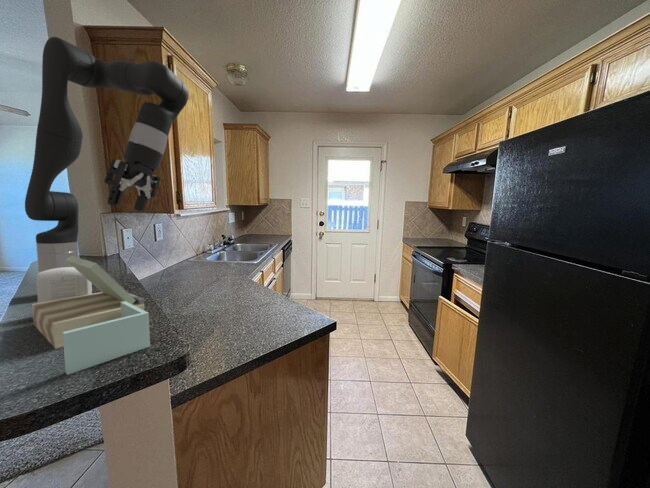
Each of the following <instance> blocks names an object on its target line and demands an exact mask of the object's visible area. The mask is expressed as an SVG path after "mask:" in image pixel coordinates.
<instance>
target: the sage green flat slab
mask: <svg viewBox="0 0 650 488" xmlns="http://www.w3.org/2000/svg"><path fill="white" fill-rule="evenodd" d="M66 261H67V262H68V263H69V264H71V265H72V266H73V267H74V268H75V269H76V270H77V271H79V272H80V273H81V274H82V275H83V276H84V277H85V278H87V279H88V280H89V281H90V282H91V283H92V286H94V287H96V289H98V290H99V291H100V292H103V293H105V294H107V295H109V296H111V297H113V298H115V299H118V300H120V301H122V302H124V301H126V302H128V303H130V304H133V303H134V302H135V301H136V300H135V299H134V298H133V297H132V296H131V295H130V294H129V293H130V292H128V291H127V290H126V289H124V287H123V286H121V285H120V283H118V282H117V281H116V280H115V279H114V278H113V277H112V276H111V275H110V274H109V273H108V272H106V271H105V269H103V268H102V267H101V266H100V265H99V264H98V263H97V262H93V261H91V260H87V259H84V258H81V257H79V258H77V257H74V256H71V257H69V258H67V259H66Z"/></svg>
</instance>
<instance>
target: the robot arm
mask: <svg viewBox="0 0 650 488" xmlns="http://www.w3.org/2000/svg"><path fill="white" fill-rule="evenodd" d="M41 61H42V64H41V65H42V66H41V67H42V72H41V73H42V74H41V78H42V79H41V82H42V84H41V100H40V109H39V116H38V122H37V128H36V134H35V148H34V156H33V158H34V159H33V165H32V169H31V173H30V174H31V175H30V178H29V183H28V185H27V190H26V194H25V200H24V211H25V214H26V216H27V217H28V218H29V219H30V220H33V221H38V222H43V221H44V222H57V225H56V226H55V227H53V228H51V229H48V230H46V231H42V232H39V233H37V234H36V235H35V243H36V245H35V246H36V254H37V268H38V273H40V272H43V271H46V270H50V269H55V268H62V267H73V266H72V265H71V264H69V263H68V262H67V261H66V259H67V258H69V257H71V256H74V257H77V258H80V257H79V256H80V255H79V246H78V245H79V243H78V237H79V203H78V200H77V198H76V196H75V195H74V194H73V193H70V192H67V191H66V192H64V191H53V190H51V187H52V185H53V182H54V181H55V180H56V178H57V177H58V176H59V175H60V174H61V173H62V172H64V170H66V169H67V168H68V167H69V166H71V165H72V164H74V162H75V161H77V159H78V158H79V157H80V154H81V149H82V143H83V139H84V138H83V137H84V136H83V135H84V133H83V131H82V128H81V124H80V123H79V121H78V119H77V117H76V115H75V113H74V111H73V109H72V107H71V105H70V102H69V97H68V83H69V82H71V83H74V84H77V85H79V86H82V87H85V88H90V89H93V88H94V89H95V88H97V89H103V88H104V89H105V88H107V89H108V88H109V89H116V90H121V91H123V92H127V93H132V94H137V95H140V96H152V95H156V96H157V97H158V98H160V99H161V101H160V103H159V104H156V103H153V102H150V101H146V102H144V103H141V104H142V105H141V106H140V109H139V110H138V111H139V112H138V116H137V118H136V120H135V124H134V125H133V127H132V129H131V132H130V135H129V137H128V141H127V143H126V147H125V150H124V153H123V156H122V157H123V159H124V160H125V161H124V160H120V159H117V158H113V159H112V160H111V163H110V165H109V167H108V170H107V173H106V176H105V178H104V183H105V184H106V185H109V187H110V190H109V191H110V192H109V193H108V196H107V204H108V205H110V206H113V207H119V206H120V204H121V200H122V197H123V195H124V190H126V188H129V187H131V186H135V188H136V189H137V192H138V196H137V198H136V201H135V204H134V205H133V206H134V207H133V209H134V210H135V211H138V212H144V211H145V209H146V205H147V204H148V200H149V199H151V198H153V199H154V198H156V196H157V192H158V188H159V186H160V181H161V177H160V176H157V175H155V174H153V173H154V171H158V170H159V168H160V166H161V163H162V159H163V156H164V153H165V150H166V147H167V144H168V143H167V142H168V137H169V134H170V131H171V128H172V126H173V125H172V124H173V123H174V122H175V120H176V119H177V117H178V116H179V115H180V113H181V112H182V111H183V110H184V108H185V106H186V105H187V103H188V100H189V95H190V94H189V89H188V86H187V85H186V84H185V82H184V81H183V80H181V78H179V76H177V75H176V74H175V73H174V72H173V71H172V70H171V69H170V68H169V67H168V66H166V65H165V64H163V63H162V62H159V61H155V60H151V61H145V62H141V63H136V62H131V61H126V60H113V61H111V62H110V63H109V62H106V61H104V60H101V59H100V58H97V57H95V55H92V54H91V53H90V52H87V51H86V50H84V49H82V48H80V47H78V46H76V45H75V44H72V43H71V42H69V41H67V40H65V39H63V38H59V37H57V36H52V37H49V38H48V39H46V42H45V44H44V46H43V51H42V60H41ZM113 178H114V179H113Z"/></svg>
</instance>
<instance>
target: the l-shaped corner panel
mask: <svg viewBox="0 0 650 488" xmlns="http://www.w3.org/2000/svg"><path fill="white" fill-rule="evenodd" d="M150 336H151V335H150V313H149V312H148V311H146V310H145V311H144V310H142V309H140V308H138V307H136V306H134V305H132V304H130V303H128V302H126V301H124V302H121V318H118V319H114V320H110V321H106V322H102V323H98V324H94V325H90V326H86V327H81V328H77V329H73V330H69V331H65V332H63V344H64V347H63V353H64V355H63V356H64V368H65V374H66V376H68V375H69V376H70V375H72V374H74V373H77V372H80V371H83V370H85V369H88V368H89V369H90V368H92V367H95V366H97V365H100V364H103V363H106V362H109V361H112V360H114V359H117V358H121V357H124V356H126V355H129V354H133V353H136V352H138V351H140V350H144V349H146V348H151V337H150Z"/></svg>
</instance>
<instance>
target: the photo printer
mask: <svg viewBox="0 0 650 488" xmlns="http://www.w3.org/2000/svg"><path fill="white" fill-rule="evenodd" d="M92 286H93V284H92V283H91V282H90V281H89V280H88V279H87V278H85V277H84V276H83V275H82V274H81V273H80V272H79V271H77V270H76V269H75V268H74V267H62V268H55V269H50V270H46V271H43V272H40V273H39V272H38V273H37V277H36V291H37V292H36V293H37V303H41V302H47V301H53V300H59V299H64V298H70V297H76V296H82V295H88V294H93V287H92Z"/></svg>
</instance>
